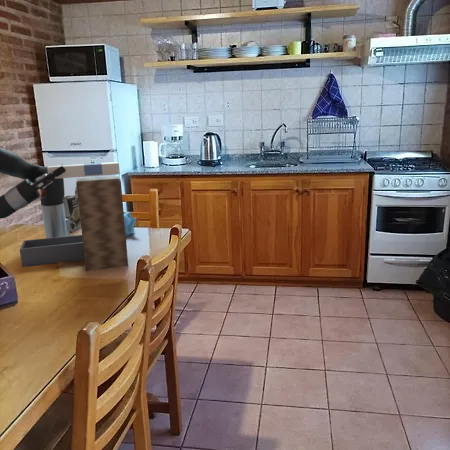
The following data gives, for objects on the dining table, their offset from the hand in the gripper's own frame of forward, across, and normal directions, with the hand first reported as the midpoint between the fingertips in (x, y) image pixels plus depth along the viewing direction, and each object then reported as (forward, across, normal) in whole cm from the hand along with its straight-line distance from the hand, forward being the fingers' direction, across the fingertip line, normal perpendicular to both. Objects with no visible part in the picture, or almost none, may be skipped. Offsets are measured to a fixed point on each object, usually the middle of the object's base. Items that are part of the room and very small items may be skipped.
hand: (64, 167), depth 154 cm
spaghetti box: (+4, 0, +6) cm, 7 cm away
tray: (-22, +13, +30) cm, 40 cm away
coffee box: (-22, +57, +31) cm, 68 cm away
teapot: (-3, +39, +42) cm, 57 cm away
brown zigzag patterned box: (-9, 0, +38) cm, 39 cm away
